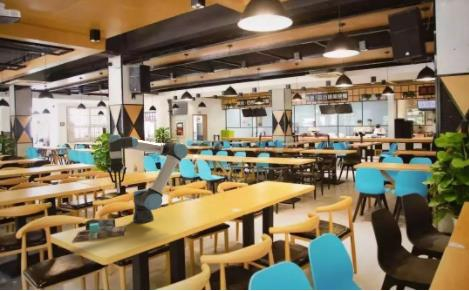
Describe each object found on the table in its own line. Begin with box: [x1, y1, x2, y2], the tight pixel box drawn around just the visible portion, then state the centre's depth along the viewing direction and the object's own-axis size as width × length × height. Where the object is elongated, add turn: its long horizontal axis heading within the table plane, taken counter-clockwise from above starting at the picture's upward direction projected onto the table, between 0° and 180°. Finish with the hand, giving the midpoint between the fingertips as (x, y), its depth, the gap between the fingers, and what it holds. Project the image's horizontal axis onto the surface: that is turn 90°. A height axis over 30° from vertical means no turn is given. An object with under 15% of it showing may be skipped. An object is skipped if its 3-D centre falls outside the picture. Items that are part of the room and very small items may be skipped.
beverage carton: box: [84, 218, 116, 231], centre depth 251 cm, size 8×19×7 cm, turn 78°
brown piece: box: [75, 218, 126, 242], centre depth 234 cm, size 29×12×9 cm, turn 106°
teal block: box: [90, 223, 99, 233], centre depth 233 cm, size 5×5×5 cm
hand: (118, 192), depth 241 cm, fingers closed
